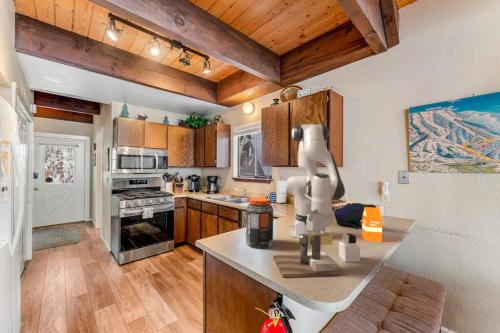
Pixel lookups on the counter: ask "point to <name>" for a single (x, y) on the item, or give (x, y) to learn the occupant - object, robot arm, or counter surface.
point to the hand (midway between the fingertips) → (320, 237)
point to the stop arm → (307, 239)
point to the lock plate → (307, 262)
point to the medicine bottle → (349, 249)
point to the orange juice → (372, 224)
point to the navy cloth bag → (351, 214)
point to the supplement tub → (259, 223)
